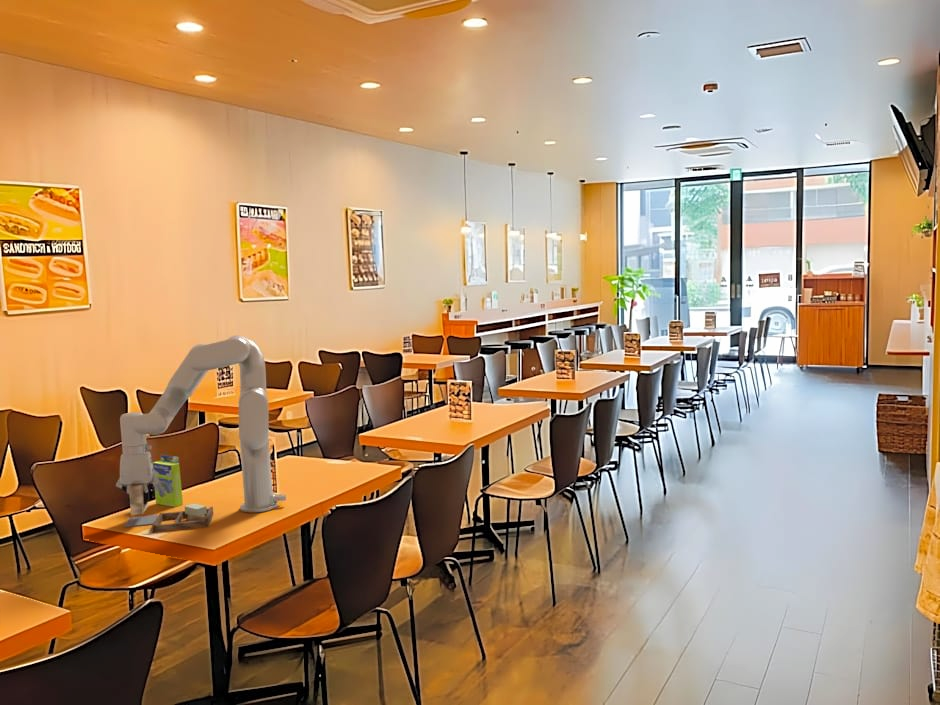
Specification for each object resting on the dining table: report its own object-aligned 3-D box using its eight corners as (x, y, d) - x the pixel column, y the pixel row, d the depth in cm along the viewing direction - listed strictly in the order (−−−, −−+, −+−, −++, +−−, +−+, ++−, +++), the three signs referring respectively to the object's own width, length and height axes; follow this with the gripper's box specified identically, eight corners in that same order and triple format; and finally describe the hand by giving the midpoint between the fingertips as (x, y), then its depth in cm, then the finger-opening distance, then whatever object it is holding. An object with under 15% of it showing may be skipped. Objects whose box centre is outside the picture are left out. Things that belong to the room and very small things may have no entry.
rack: (213, 513, 269) (212, 506, 268) (208, 526, 255) (208, 518, 255) (160, 519, 265) (160, 511, 265) (152, 532, 252) (152, 524, 251)
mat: (158, 515, 269) (158, 514, 269) (152, 524, 260) (152, 523, 260) (130, 518, 268) (130, 517, 268) (123, 527, 258) (123, 526, 258)
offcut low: (202, 517, 266) (201, 509, 266) (205, 525, 258) (204, 516, 258) (188, 520, 264) (187, 511, 264) (191, 527, 256) (190, 518, 256)
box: (155, 504, 284) (151, 456, 282) (165, 501, 287) (160, 454, 286) (174, 507, 278) (170, 459, 277) (184, 504, 282) (180, 456, 280)
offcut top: (194, 510, 264) (193, 503, 264) (207, 513, 260) (206, 506, 260) (185, 513, 262) (184, 506, 261) (197, 516, 257) (197, 509, 257)
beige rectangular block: (148, 505, 268) (146, 479, 267) (142, 514, 259) (140, 487, 258) (137, 506, 268) (135, 480, 267) (131, 515, 258) (128, 488, 257)
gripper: (163, 445, 266) (167, 498, 268) (110, 449, 263) (115, 503, 265) (159, 450, 259) (163, 504, 261) (105, 454, 256) (110, 509, 258)
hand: (139, 503), depth 263 cm, fingers closed on beige rectangular block, 3 cm apart
